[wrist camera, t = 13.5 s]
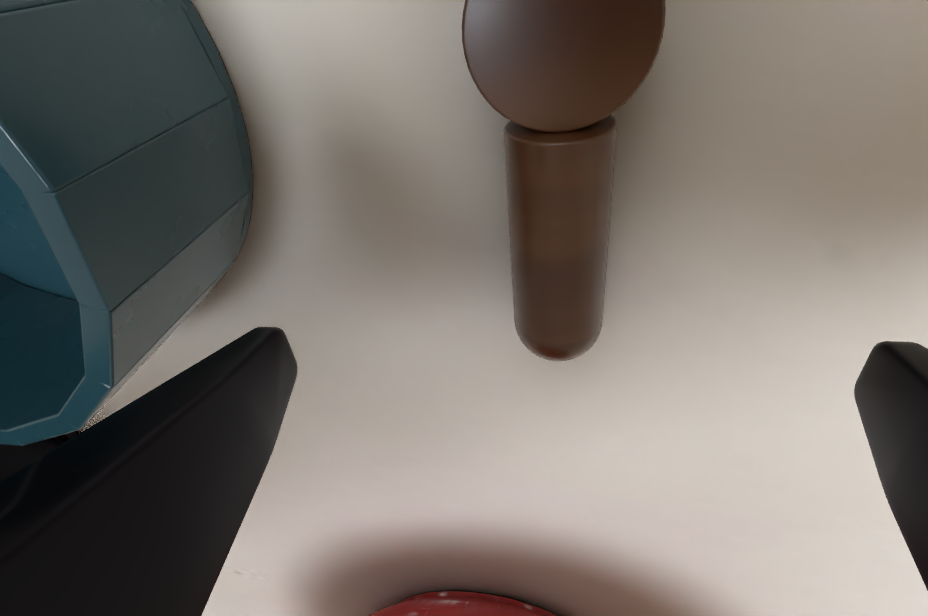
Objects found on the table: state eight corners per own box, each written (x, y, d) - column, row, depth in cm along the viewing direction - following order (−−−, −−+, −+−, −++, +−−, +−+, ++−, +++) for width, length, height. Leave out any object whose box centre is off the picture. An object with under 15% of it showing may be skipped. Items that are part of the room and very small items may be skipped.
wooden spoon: (619, 325, 17) (626, 382, 15) (498, 323, 18) (489, 376, 16) (663, -106, 10) (687, -110, 8) (467, -80, 11) (443, -78, 9)
